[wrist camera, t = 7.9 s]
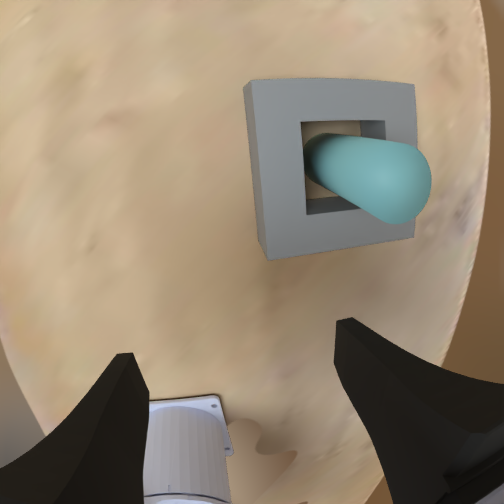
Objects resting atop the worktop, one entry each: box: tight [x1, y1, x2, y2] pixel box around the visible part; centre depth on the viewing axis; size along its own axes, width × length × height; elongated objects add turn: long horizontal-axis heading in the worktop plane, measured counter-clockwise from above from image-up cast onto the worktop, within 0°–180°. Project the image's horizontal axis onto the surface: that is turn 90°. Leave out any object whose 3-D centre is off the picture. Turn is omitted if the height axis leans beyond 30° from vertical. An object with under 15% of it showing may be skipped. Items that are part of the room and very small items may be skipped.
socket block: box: [243, 78, 417, 261], centre depth 17 cm, size 9×9×3 cm
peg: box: [303, 133, 431, 224], centre depth 15 cm, size 3×3×8 cm
